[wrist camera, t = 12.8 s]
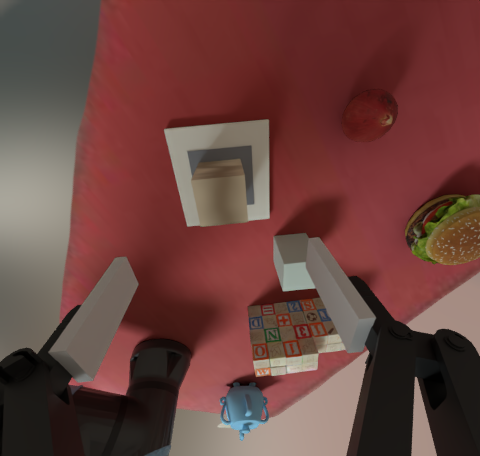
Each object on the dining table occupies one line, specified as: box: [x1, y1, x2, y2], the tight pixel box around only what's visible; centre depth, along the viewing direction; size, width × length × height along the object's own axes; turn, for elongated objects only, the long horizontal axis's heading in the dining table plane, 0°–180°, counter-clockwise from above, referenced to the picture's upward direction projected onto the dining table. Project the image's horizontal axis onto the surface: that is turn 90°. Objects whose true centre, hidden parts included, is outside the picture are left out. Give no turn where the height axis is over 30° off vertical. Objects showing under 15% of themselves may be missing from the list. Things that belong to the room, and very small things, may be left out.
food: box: [405, 194, 480, 265], centre depth 36 cm, size 14×14×8 cm
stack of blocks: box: [248, 298, 346, 377], centre depth 45 cm, size 21×6×12 cm, turn 97°
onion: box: [342, 89, 398, 142], centre depth 26 cm, size 6×6×8 cm
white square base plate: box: [164, 119, 269, 227], centre depth 32 cm, size 14×15×1 cm
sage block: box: [274, 233, 315, 291], centre depth 37 cm, size 6×6×8 cm
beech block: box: [191, 159, 248, 227], centre depth 28 cm, size 6×6×8 cm
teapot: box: [220, 382, 269, 441], centre depth 65 cm, size 13×14×11 cm
